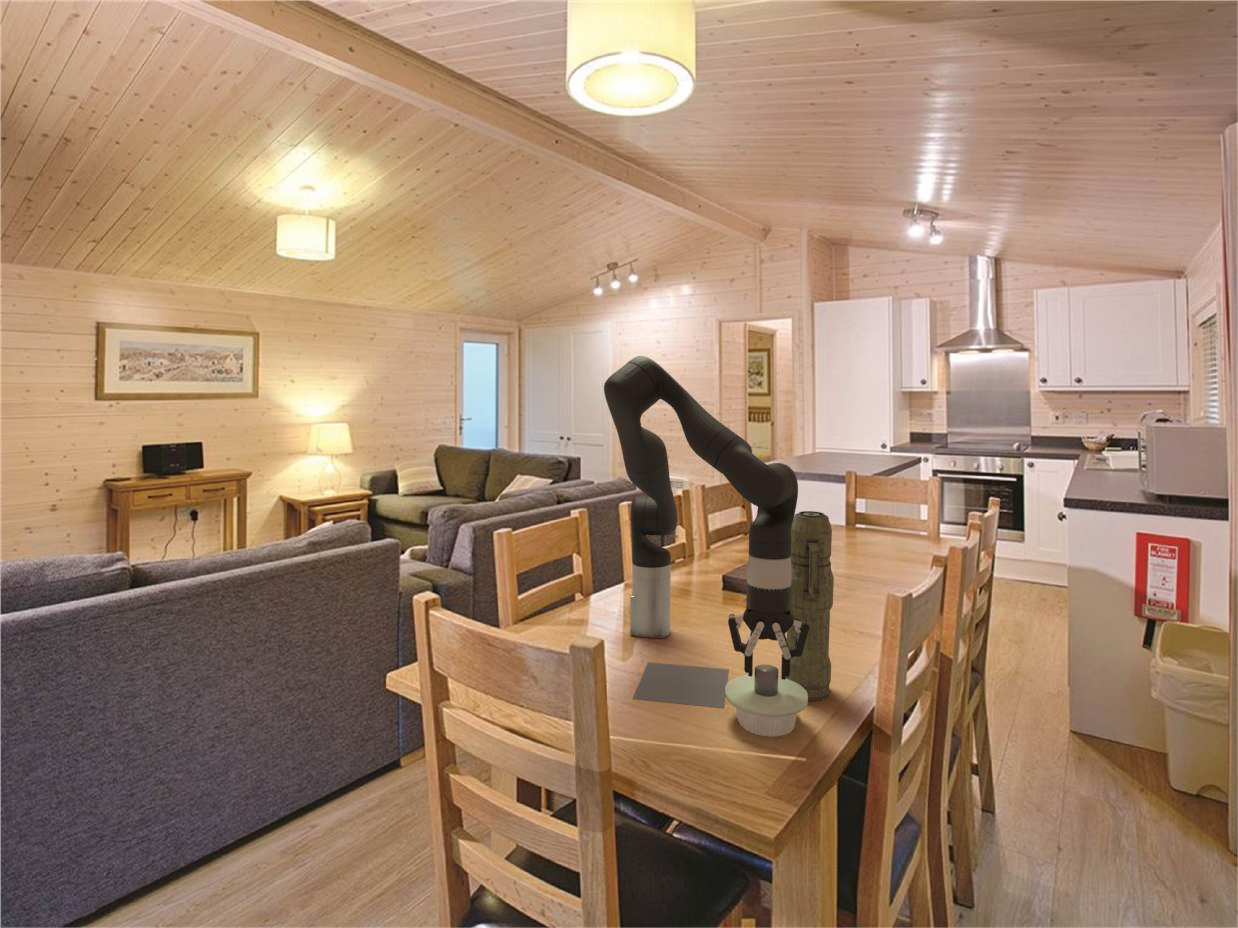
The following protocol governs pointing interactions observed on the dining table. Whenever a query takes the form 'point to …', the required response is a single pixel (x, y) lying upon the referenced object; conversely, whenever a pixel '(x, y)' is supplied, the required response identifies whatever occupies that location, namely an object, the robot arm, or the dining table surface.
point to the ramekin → (766, 723)
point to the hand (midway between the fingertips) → (766, 675)
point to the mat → (683, 685)
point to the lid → (766, 693)
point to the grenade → (811, 601)
